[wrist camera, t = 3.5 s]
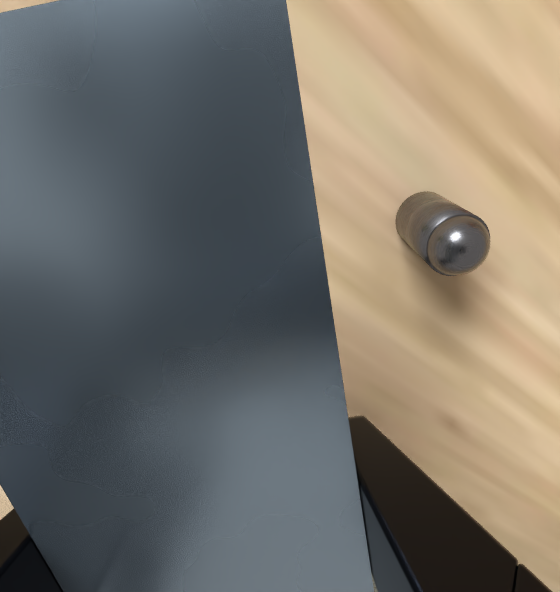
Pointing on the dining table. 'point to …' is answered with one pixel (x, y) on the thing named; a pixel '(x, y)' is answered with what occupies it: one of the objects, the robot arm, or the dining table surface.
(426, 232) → the cylinder
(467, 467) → the dining table surface
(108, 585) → the link
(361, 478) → the robot arm
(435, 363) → the dining table surface
